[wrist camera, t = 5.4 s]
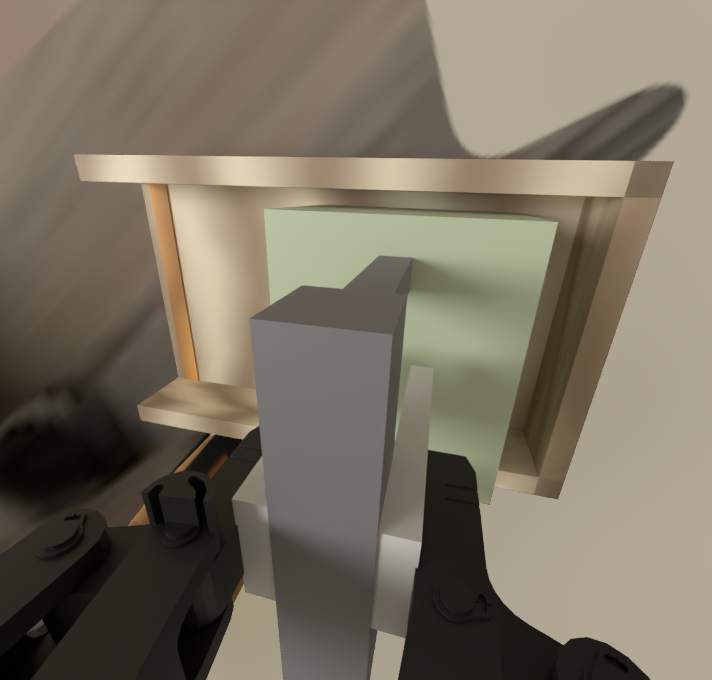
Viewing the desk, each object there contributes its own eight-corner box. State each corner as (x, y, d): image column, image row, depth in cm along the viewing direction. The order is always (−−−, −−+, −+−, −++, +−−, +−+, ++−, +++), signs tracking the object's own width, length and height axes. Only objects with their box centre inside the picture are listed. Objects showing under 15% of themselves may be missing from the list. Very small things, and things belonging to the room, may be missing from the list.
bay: (191, 383, 28) (141, 420, 24) (152, 163, 22) (73, 154, 17) (535, 437, 23) (557, 499, 18) (610, 170, 17) (673, 161, 12)
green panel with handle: (324, 392, 24) (155, 669, 10) (323, 204, 19) (0, 228, 5) (476, 415, 22) (533, 803, 8) (516, 212, 17) (826, 283, 3)
